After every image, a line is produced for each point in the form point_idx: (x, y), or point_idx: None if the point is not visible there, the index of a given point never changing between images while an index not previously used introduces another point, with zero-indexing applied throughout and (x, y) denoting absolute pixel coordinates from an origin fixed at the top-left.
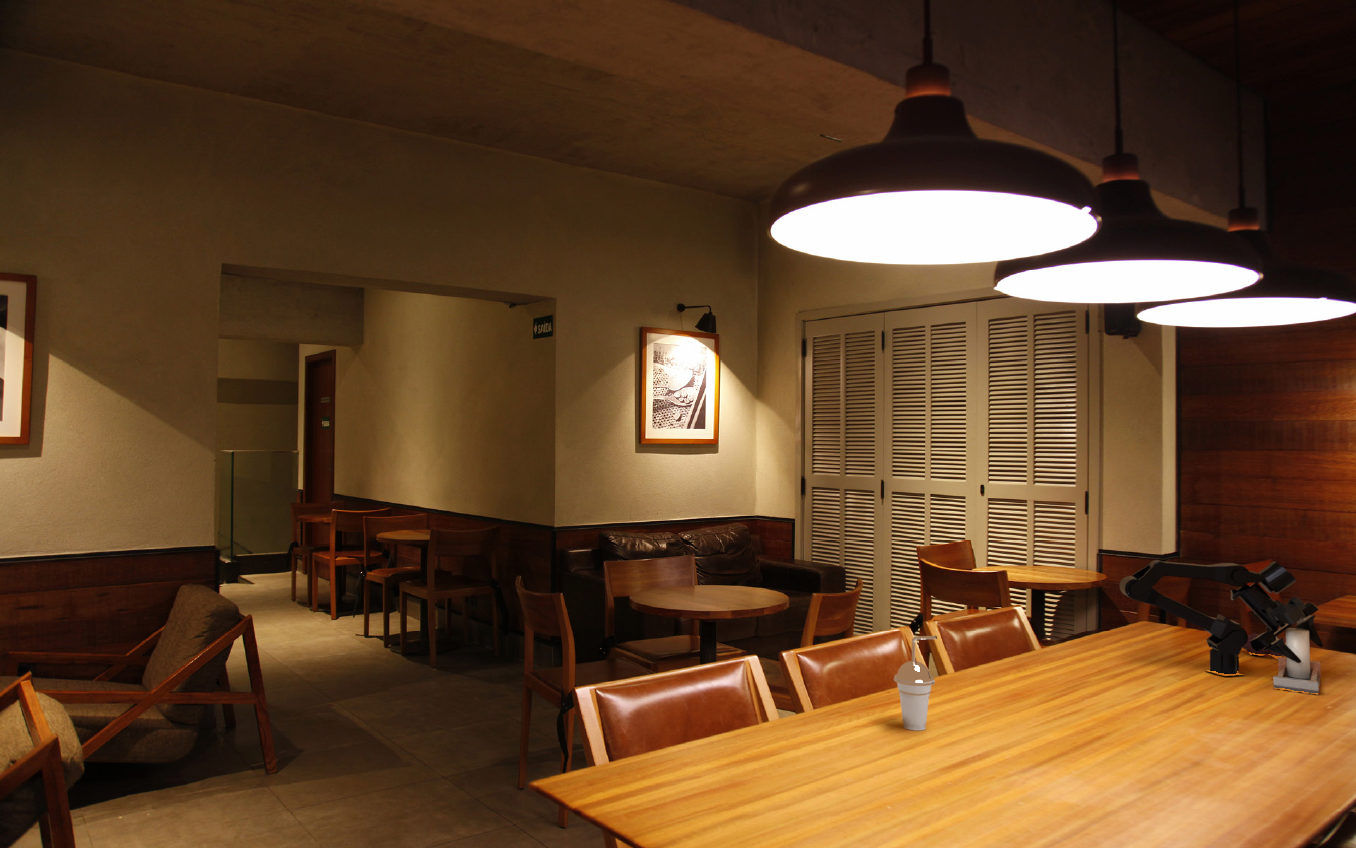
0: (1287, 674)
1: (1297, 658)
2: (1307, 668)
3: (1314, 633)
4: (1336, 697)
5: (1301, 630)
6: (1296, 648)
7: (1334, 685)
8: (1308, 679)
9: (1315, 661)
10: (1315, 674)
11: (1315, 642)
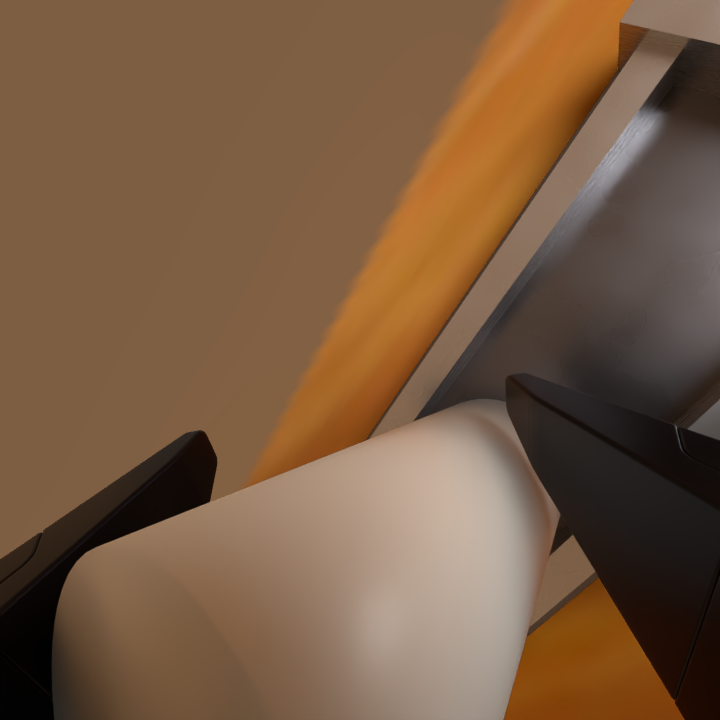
0: None
1: (546, 385)
2: (441, 411)
3: (74, 532)
4: (539, 33)
5: (121, 699)
6: (467, 492)
7: (358, 359)
8: (464, 400)
9: None
10: (418, 377)
11: (195, 506)
